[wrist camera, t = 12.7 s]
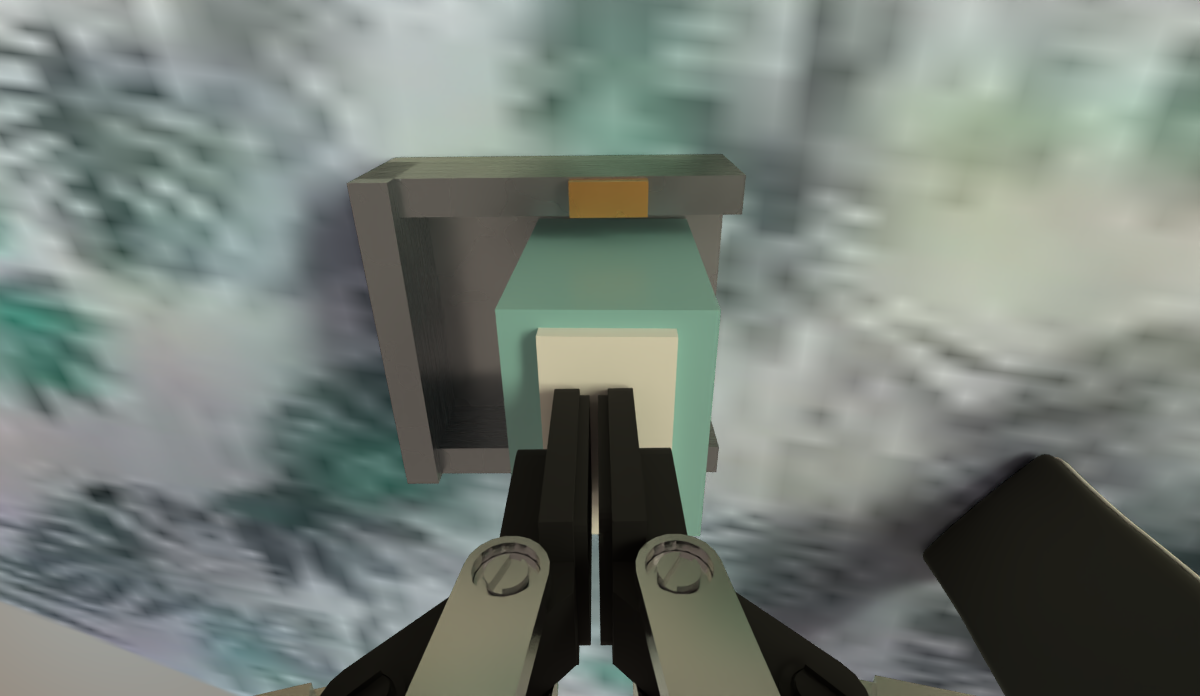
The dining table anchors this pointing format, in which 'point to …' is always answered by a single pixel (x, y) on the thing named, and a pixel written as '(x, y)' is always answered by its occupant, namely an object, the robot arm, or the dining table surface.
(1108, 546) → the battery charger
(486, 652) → the robot arm
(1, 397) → the dining table surface
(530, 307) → the block
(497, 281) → the tray
